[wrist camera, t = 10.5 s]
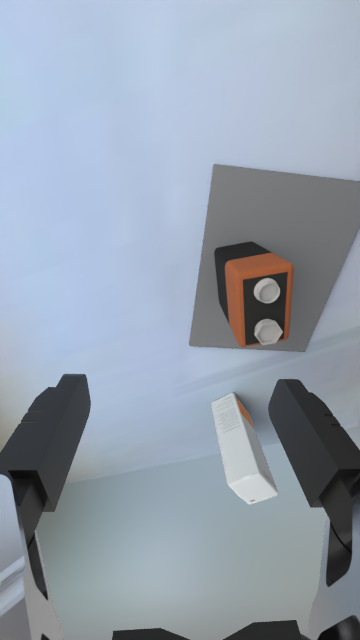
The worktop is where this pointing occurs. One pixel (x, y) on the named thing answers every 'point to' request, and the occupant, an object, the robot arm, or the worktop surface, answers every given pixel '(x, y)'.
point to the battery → (254, 292)
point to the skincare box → (242, 451)
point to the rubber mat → (276, 243)
